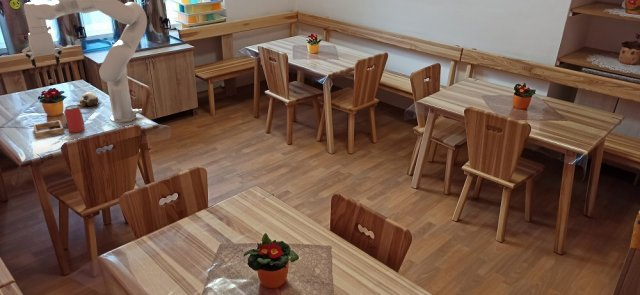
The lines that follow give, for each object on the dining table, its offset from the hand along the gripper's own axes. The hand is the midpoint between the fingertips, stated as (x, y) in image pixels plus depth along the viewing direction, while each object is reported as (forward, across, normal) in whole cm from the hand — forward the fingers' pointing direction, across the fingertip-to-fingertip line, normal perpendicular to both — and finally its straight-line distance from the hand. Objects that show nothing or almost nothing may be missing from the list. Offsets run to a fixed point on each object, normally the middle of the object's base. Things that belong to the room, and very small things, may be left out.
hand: (46, 65), depth 232 cm
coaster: (+28, -5, +20) cm, 35 cm away
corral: (+28, +6, +14) cm, 32 cm away
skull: (+29, -17, -15) cm, 37 cm away
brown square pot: (+28, -6, +10) cm, 31 cm away
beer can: (+28, -5, +20) cm, 35 cm away
